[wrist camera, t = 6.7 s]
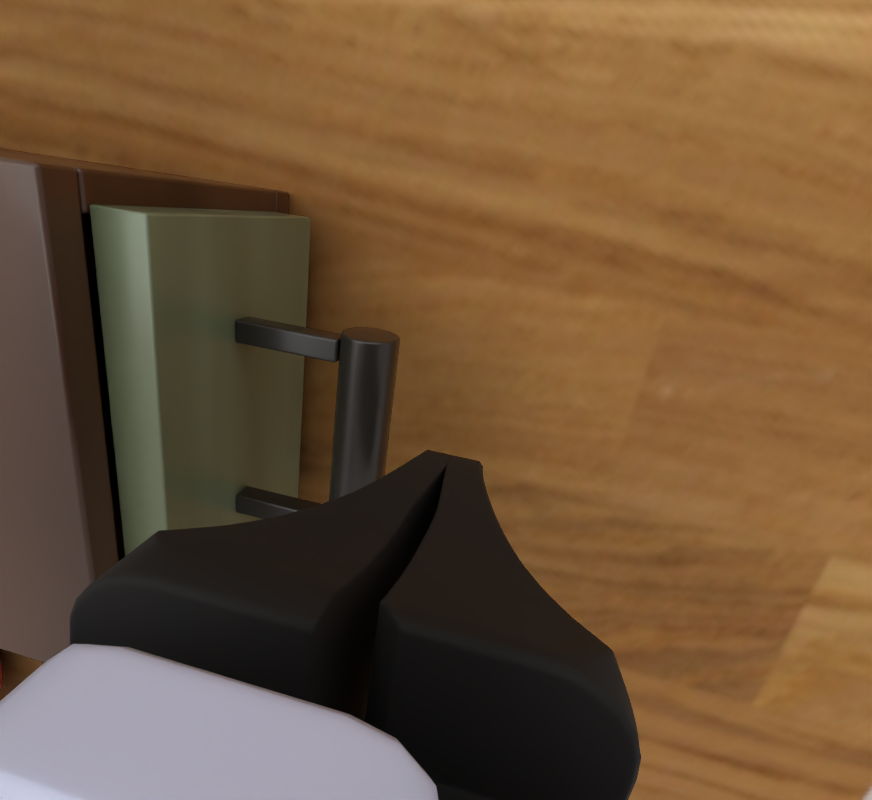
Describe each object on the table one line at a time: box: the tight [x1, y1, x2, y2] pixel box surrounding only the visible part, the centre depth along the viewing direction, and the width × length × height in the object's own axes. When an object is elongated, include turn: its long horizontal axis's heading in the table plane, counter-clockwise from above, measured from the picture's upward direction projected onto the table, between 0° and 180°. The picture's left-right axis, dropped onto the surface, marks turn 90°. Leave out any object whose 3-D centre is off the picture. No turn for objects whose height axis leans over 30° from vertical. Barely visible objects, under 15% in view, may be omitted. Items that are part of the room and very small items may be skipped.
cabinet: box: [0, 148, 289, 662], centre depth 15 cm, size 14×12×9 cm
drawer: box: [82, 204, 400, 561], centre depth 14 cm, size 17×10×7 cm, turn 82°
